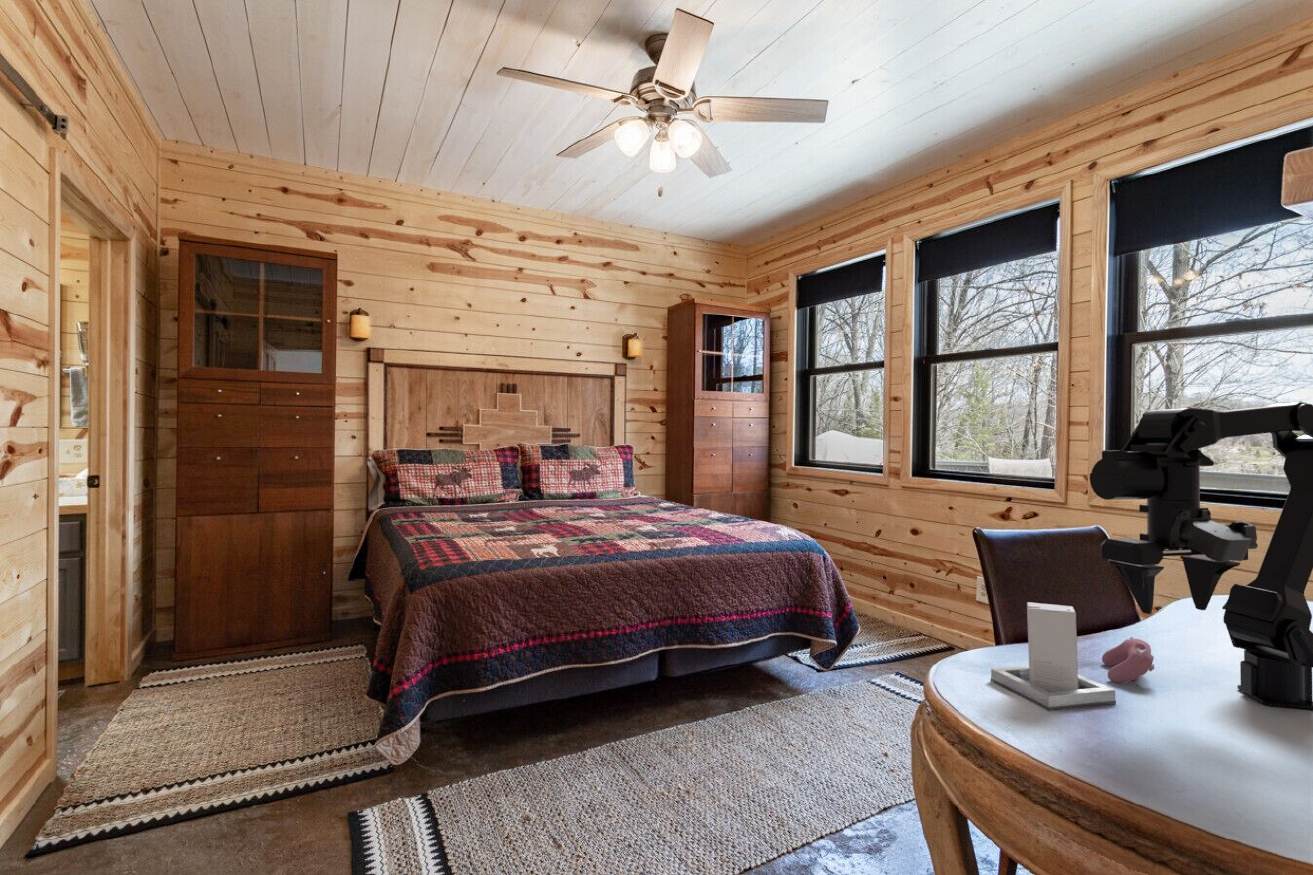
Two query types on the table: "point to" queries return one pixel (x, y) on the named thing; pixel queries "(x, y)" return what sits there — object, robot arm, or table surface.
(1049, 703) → the collar
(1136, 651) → the video game controller
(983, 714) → the table surface
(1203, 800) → the table surface
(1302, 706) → the robot arm
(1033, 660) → the skincare box
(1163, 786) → the table surface
